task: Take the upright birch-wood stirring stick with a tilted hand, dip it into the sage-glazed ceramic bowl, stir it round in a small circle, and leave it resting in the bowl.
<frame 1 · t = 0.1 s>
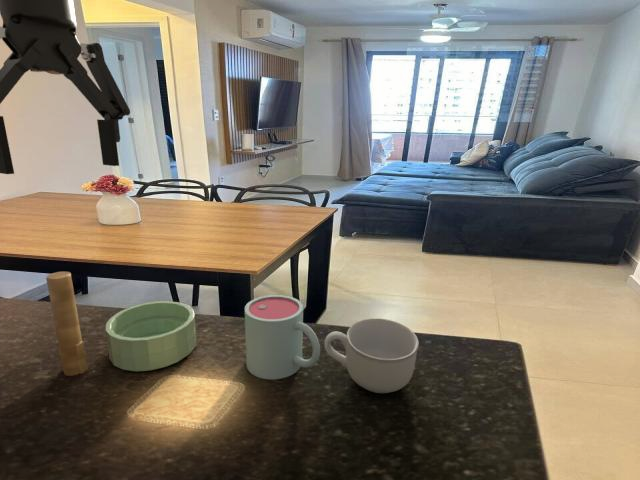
hand: (64, 169, 51), 31 cm above the kitchen counter, tool pointing down, fingers open, 13 cm apart
bowl: (155, 350, 66), on the kitchen counter
mug: (284, 368, 62), on the kitchen counter
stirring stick: (75, 370, 60), on the kitchen counter
teacup: (368, 379, 60), on the kitchen counter
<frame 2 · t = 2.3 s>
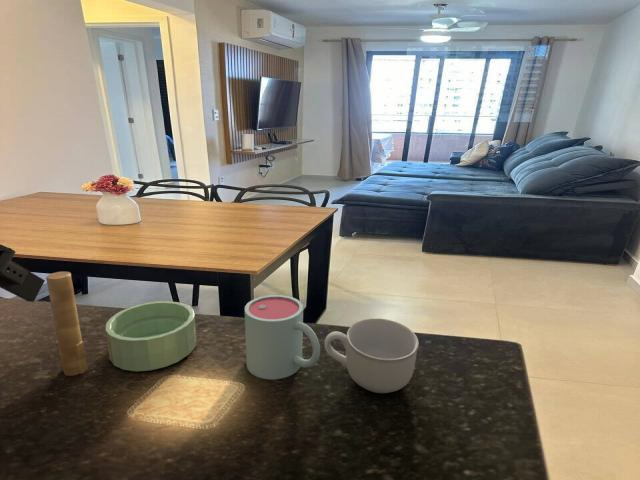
nothing on the kitchen counter moved.
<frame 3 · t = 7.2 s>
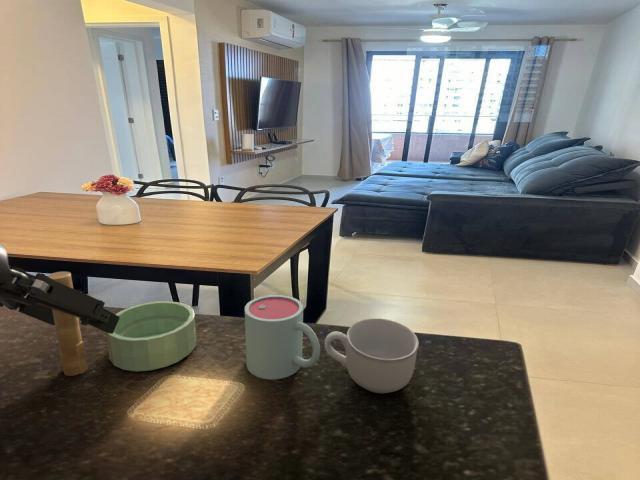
hand: (85, 320, 60), 7 cm above the kitchen counter, tool tilted 45°, fingers open, 10 cm apart
nothing on the kitchen counter moved.
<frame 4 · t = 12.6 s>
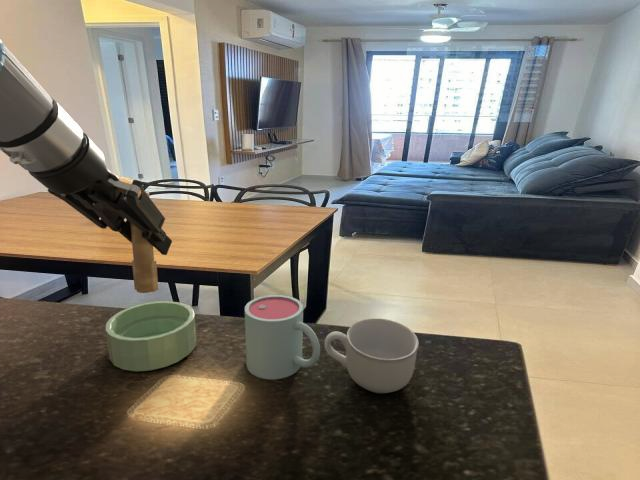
hand: (157, 246, 64), 18 cm above the kitchen counter, tool tilted 45°, fingers closed on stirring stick, 3 cm apart
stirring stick: (146, 289, 62), point 11 cm above the kitchen counter, touching gripper
everything else where it was.
when the fingers open (7 cm above the kitchen counter, at t = 17.7 s): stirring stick stays where it is, resting on bowl.
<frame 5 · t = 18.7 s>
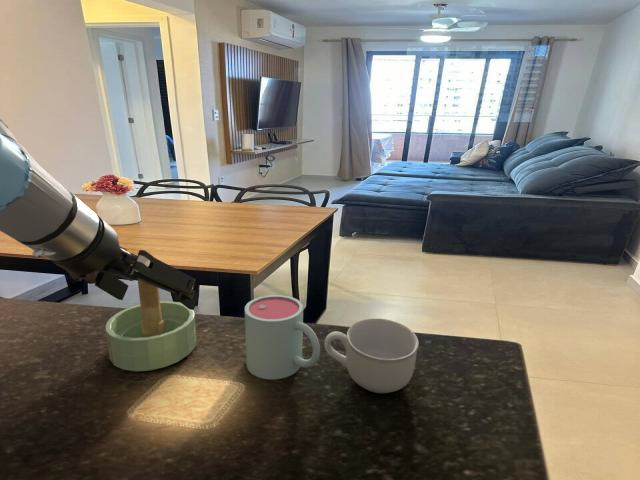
hand: (158, 297, 65), 9 cm above the kitchen counter, tool tilted 45°, fingers open, 13 cm apart
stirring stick: (155, 347, 65), point 1 cm above the kitchen counter, touching bowl
everything else where it was.
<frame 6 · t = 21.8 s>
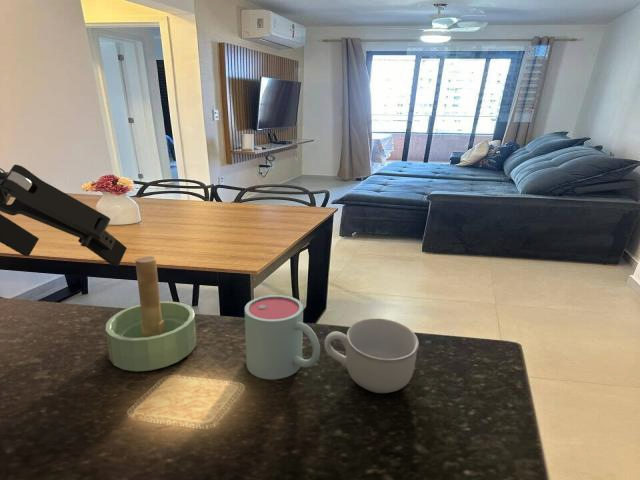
hand: (75, 252, 50), 21 cm above the kitchen counter, tool tilted 45°, fingers open, 13 cm apart
nothing on the kitchen counter moved.
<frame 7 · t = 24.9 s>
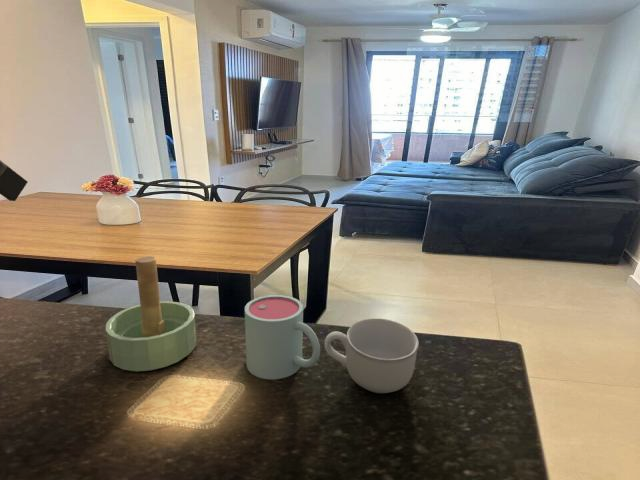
nothing on the kitchen counter moved.
at the end: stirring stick inside the target area in the bowl (0.1 cm from its centre), point 0.6 cm above the bowl's base; the gripper is holding nothing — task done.
